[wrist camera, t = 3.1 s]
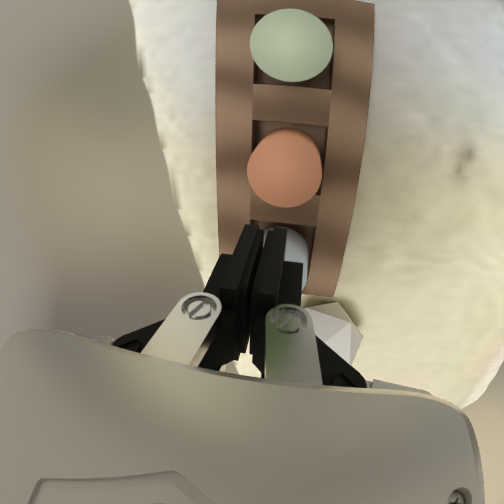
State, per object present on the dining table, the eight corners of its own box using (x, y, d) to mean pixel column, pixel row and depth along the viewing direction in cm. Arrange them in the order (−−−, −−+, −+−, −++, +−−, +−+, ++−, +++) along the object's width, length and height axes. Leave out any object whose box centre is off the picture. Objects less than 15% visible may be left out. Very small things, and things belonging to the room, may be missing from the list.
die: (302, 341, 40) (346, 391, 33) (256, 337, 35) (302, 400, 27) (337, 292, 39) (389, 339, 31) (294, 279, 33) (353, 337, 25)
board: (226, 2, 19) (217, -6, 16) (367, 11, 17) (374, 4, 15) (227, 266, 34) (220, 283, 32) (332, 279, 33) (333, 297, 30)
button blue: (254, 223, 27) (245, 247, 24) (311, 230, 27) (311, 254, 23) (252, 269, 30) (245, 295, 27) (304, 275, 29) (302, 303, 26)
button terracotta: (257, 125, 22) (247, 134, 19) (322, 130, 22) (325, 141, 18) (255, 184, 25) (246, 203, 22) (316, 190, 24) (317, 211, 21)
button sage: (260, 18, 17) (250, 7, 14) (329, 22, 16) (334, 12, 13) (258, 79, 20) (248, 79, 17) (326, 84, 19) (330, 85, 16)
